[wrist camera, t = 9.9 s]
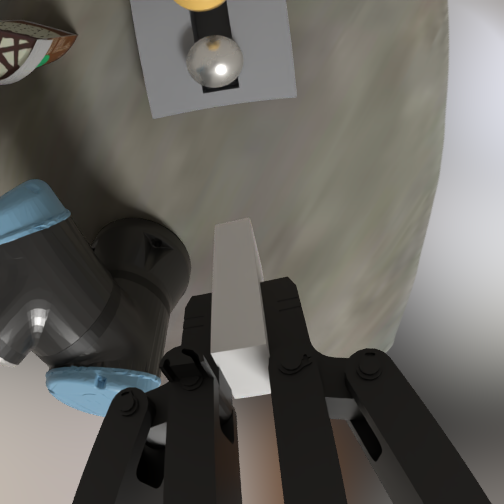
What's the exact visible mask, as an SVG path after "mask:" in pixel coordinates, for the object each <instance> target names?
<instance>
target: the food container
mask: <svg viewBox="0 0 504 504" xmlns="http://www.w3.org/2000/svg"><path fill="white" fill-rule="evenodd" d="M77 36H78V35H76V34H73V33H70V32H66V31H63V30H60V29H56V28H53V27H49V26H46V25H42V24H38V23H34V22H30V21H26V20H0V85H7V84H12V83H14V82H17V81H19V80H21V79H22V78H24V77H26V76H27V75H28V74H29V73H31V72H32V71H33V70H34V69H35V68H37V67H40V66H42V65H45V64H48V63H51V62H53V61H55V60H57V59H59V58H60V57H62V56H63V55H64V54H65V53H66V52H67V51H68V50H69V49H70V47H71V46H72V45H73V43H74V42H75V40H76V38H77Z"/></svg>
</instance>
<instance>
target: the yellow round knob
mask: <svg viewBox="0 0 504 504" xmlns="http://www.w3.org/2000/svg"><path fill="white" fill-rule="evenodd" d="M174 1H175V2H176V3H177V4H179V5H180V6H182V7H183V8H185V9H187V10H190V11H195V12H204V11H209V10H212V9H215V8H217V7H219V6H220V5H222V4H223V3H224V2H225V1H226V0H174Z"/></svg>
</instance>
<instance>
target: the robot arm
mask: <svg viewBox="0 0 504 504" xmlns="http://www.w3.org/2000/svg"><path fill="white" fill-rule="evenodd" d="M70 215H71V213H70V211H69V210H68V209H65V207H64V206H63V205H62V203H61V202H60V200H59V199H58V198H57V196H56V195H55V193H54V192H53V190H52V189H51V188H50V186H49V185H48V184H47V183H46V182H44V181H42V180H39V179H31V180H28V181H26V182H24V183H22V184H20V185H18V186H17V187H15V188H13V189H12V190H10V191H9V192H7V193H5V194H4V195H2V196H1V197H0V366H7V367H16V366H18V365H19V363H20V362H21V361H22V360H23V359H24V358H25V357H26V355H27V354H28V353H29V352H30V351H32V352H33V353H35V354H36V355H37V356H38V357H39V358H40V359H41V360H42V361H43V362H45V363H46V364H47V365H48V366H49V371H48V372H47V373H46V386H47V388H48V390H49V392H50V393H51V394H52V395H53V396H54V397H55V398H56V399H58V400H60V401H61V402H63V403H64V404H66V405H68V406H70V407H72V408H75V409H77V410H80V411H83V412H86V413H89V414H93V415H98V416H103V417H105V418H104V420H103V423H102V425H101V428H100V430H99V433H98V435H97V438H96V441H95V443H94V445H93V448H92V451H91V453H90V456H89V459H88V461H87V464H86V466H85V469H84V472H83V475H82V477H81V480H80V483H79V486H78V488H77V491H76V494H75V497H74V500H73V503H72V504H242V495H241V480H240V466H239V452H238V451H239V450H238V436H237V435H238V434H237V418H236V412H235V409H234V407H233V405H232V394H233V396H234V398H235V399H238V398H245V397H252V396H258V395H265V394H271V396H272V405H273V413H274V420H275V429H276V438H277V446H278V454H279V462H280V470H281V478H282V488H283V496H284V504H347V499H346V495H345V489H344V484H343V479H342V474H341V469H340V465H339V459H338V454H337V450H336V445H335V441H334V436H333V431H332V426H331V422H330V418H331V419H345V420H346V422H347V423H348V425H349V427H350V429H351V430H352V432H353V434H354V435H355V437H356V439H357V441H358V443H359V444H360V446H361V448H362V450H363V451H364V453H365V455H366V457H367V458H368V460H369V462H370V464H371V465H372V467H373V469H374V471H375V472H376V474H377V476H378V478H379V479H380V481H381V483H382V484H383V486H384V488H385V490H386V492H387V493H388V495H389V497H390V499H391V500H392V502H393V504H491V502H490V501H489V499H488V498H487V496H486V494H485V493H484V492H483V490H482V488H481V487H480V485H479V483H478V482H477V480H476V479H475V477H474V476H473V474H472V473H471V471H470V470H469V468H468V467H467V465H466V464H465V462H464V461H463V459H462V458H461V456H460V455H459V453H458V452H457V450H456V449H455V447H454V446H453V445H452V443H451V442H450V440H449V439H448V437H447V436H446V434H445V433H444V431H443V430H442V428H441V427H440V426H439V425H438V423H437V421H436V420H435V419H434V417H433V416H432V414H431V413H430V412H429V410H428V409H427V407H426V406H425V404H424V403H423V402H422V400H421V399H420V398H419V396H418V395H417V393H416V392H415V391H414V389H413V388H412V387H411V385H410V384H409V382H407V380H406V378H405V377H404V376H403V374H402V373H401V372H400V370H399V369H398V368H397V366H396V365H395V364H394V362H393V361H392V360H391V358H390V357H389V356H388V355H387V354H386V353H384V352H383V351H380V350H377V349H368V348H366V349H363V350H359V351H357V352H356V353H354V354H353V355H351V356H350V358H334V357H328V356H325V355H323V354H321V353H319V352H318V351H316V350H315V348H314V347H313V346H312V344H311V342H310V339H309V334H308V330H307V326H306V322H305V318H304V315H303V311H302V307H301V303H300V299H299V295H298V291H297V287H296V285H295V284H294V283H293V282H292V281H291V280H290V279H289V278H288V277H284V278H279V279H274V280H269V281H264V279H263V272H262V266H261V262H260V258H259V254H258V249H257V245H256V241H255V237H254V233H253V229H252V225H251V221H250V217H249V218H244V219H239V220H235V221H230V222H226V223H221V224H217V225H215V234H214V256H213V280H212V293H208V294H202V295H197V296H192V297H191V299H190V300H189V302H188V304H187V306H186V307H185V315H184V324H183V334H182V344H181V346H178V347H175V348H173V349H171V350H170V351H168V352H167V353H166V354H165V355H164V356H163V354H164V348H165V341H166V335H167V329H168V323H169V317H170V313H171V312H172V310H173V309H174V307H175V306H176V304H177V303H178V301H179V300H180V298H181V297H182V296H183V294H184V293H185V291H186V289H187V287H188V284H189V278H190V272H191V262H190V258H189V255H188V252H187V250H186V248H185V246H184V245H183V244H182V242H181V241H180V240H179V239H178V238H177V237H176V236H175V235H174V234H173V233H172V232H171V231H169V230H168V229H166V228H165V227H163V226H161V225H159V224H157V223H155V222H152V221H148V220H144V219H137V218H127V219H121V220H117V221H114V222H112V223H110V224H108V225H107V226H105V227H104V228H103V229H102V230H101V231H100V232H99V233H98V235H97V237H96V238H95V240H94V242H93V243H92V245H91V247H90V245H89V244H88V242H87V241H86V239H85V238H84V236H83V235H82V234H81V232H80V231H79V229H78V228H77V226H76V225H75V223H74V221H73V220H72V218H71V217H70ZM161 371H162V372H163V374H164V375H165V376H166V378H167V379H168V380H169V382H168V383H166V384H164V385H162V386H160V387H159V385H160V384H161V379H160V376H161Z"/></svg>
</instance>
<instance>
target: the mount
mask: <svg viewBox="0 0 504 504" xmlns="http://www.w3.org/2000/svg"><path fill="white" fill-rule="evenodd" d="M130 3H131V10H132V16H133V22H134V28H135V33H136V39H137V44H138V50H139V55H140V60H141V65H142V70H143V75H144V80H145V85H146V90H147V94H148V99H149V104H150V108H151V113H152V117H153V119H156V118H161V117H165V116H170V115H175V114H179V113H184V112H190V111H195V110H200V109H206V108H212V107H218V106H225V105H231V104H238V103H246V102H254V101H262V100H271V99H282V98H293V97H297V91H296V81H295V71H294V62H293V53H292V44H291V36H290V28H289V20H288V13H287V5H286V0H226V1H225V2H224V3H223V4H222V5H220V6H219V7H217V8H215V9H212V10H209V11H204V12H195V11H190V10H187V9H185V8H183V7H182V6H180V5H179V4H177V3H176V2H175V1H174V0H130ZM212 35H220V36H225V37H227V38H230V39H231V40H233V41H234V42H235V43H236V44H237V45H238V46H239V47H240V49H241V51H242V54H243V59H244V62H243V68H242V70H241V72H240V74H239V76H238V77H237V78H236V79H235V80H234V81H233V82H231V83H230V84H228V85H225V86H222V87H216V88H211V87H206V86H203V85H201V84H199V83H197V82H196V81H195V80H194V79H193V78H192V77H191V76H190V74H189V72H188V69H187V64H186V61H187V55H188V52H189V50H190V49H191V47H192V46H193V45H194V44H195V43H196V42H197V41H199V40H200V39H202V38H204V37H207V36H212Z"/></svg>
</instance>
